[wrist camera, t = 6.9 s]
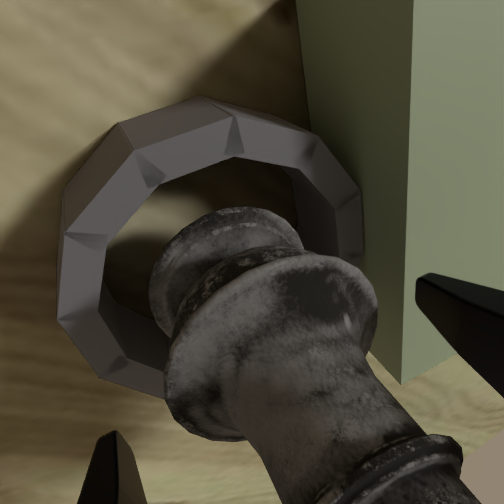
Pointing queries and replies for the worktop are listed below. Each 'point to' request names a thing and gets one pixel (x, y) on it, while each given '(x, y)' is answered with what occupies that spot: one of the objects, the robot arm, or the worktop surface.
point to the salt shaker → (290, 366)
